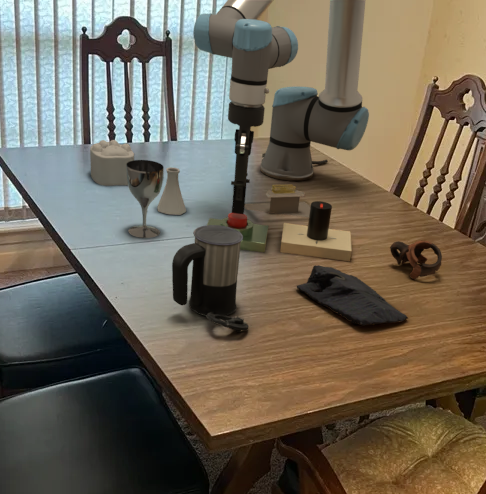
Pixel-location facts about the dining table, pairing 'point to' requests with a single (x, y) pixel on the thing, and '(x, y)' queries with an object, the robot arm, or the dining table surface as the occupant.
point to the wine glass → (144, 190)
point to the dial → (319, 220)
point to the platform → (283, 202)
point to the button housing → (247, 234)
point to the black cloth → (349, 297)
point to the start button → (237, 220)
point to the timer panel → (316, 243)
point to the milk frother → (210, 274)
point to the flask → (172, 195)
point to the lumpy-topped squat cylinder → (110, 162)
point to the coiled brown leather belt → (416, 257)
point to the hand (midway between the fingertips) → (237, 212)
